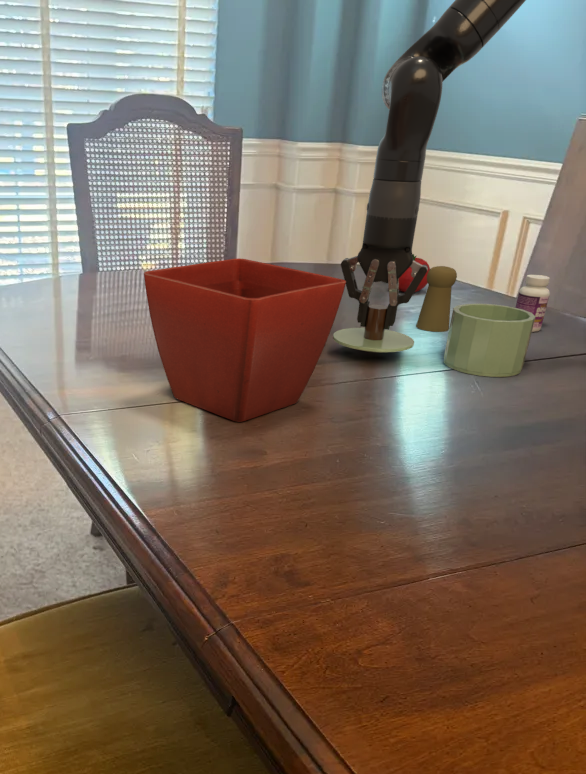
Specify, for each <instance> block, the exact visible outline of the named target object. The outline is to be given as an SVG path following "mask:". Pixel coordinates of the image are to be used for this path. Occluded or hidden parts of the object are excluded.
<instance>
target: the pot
mask: <svg viewBox="0 0 586 774" xmlns="http://www.w3.org/2000/svg"><path fill="white" fill-rule="evenodd" d="M534 321H535V316H534V315H533V314H532V313H531V312H528V311H526V310H523V309H519V308H515V307H513V306H510V305H509V306H508V305H503V304H494V303H464V304H459V305H456V306H455V307H453V308H452V313H451V317H450V322H449V330H448V332H447V333H448V334H447V339H446V342H445V343H446V344H445V349H444V354H443V364H444V365H445V366H446V367H448V368H450V369H452V370H454V371H457V372H460V373H463V374H468V375H473V376H480V377H489V378H508V377H513V376H517V375H519V374H520V373H522V370H523V367H524V364H525V362H526V357H527V353H528V349H529V344H530V341H531V337H532V333H533V332H532V329H533V325H534Z"/></svg>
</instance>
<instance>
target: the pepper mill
mask: <svg viewBox="0 0 586 774" xmlns="http://www.w3.org/2000/svg"><path fill="white" fill-rule="evenodd" d="M457 278H458V273H457V270H456V269H455V268H453V267H451V266H445V265H437V266H433V267H430V270H429V271H428V274H427V282H428V284H427V285H428V286H427V289H426V292H425V296H424V299H423V301H422V305H421V308H420V312H419V315H418V318H417V322H416V324H415V328H416V329H418V330H422V331H426V332H433V333H434V332H435V333H443V332H444V333H445V332H449V328H450V322H451V302H452V301H451V300H452V287H453V286H454V285H455V283H456V281H457Z"/></svg>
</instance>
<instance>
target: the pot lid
mask: <svg viewBox="0 0 586 774" xmlns="http://www.w3.org/2000/svg"><path fill="white" fill-rule="evenodd" d="M387 307H388V305H384V304H369V306H368V310H367V317H366V324H365V327H350V328H349V327H348V328H343V329H338V330H337V331H335V332H334V333H333V334H332V340H333V341H334V342H335V343H337V344H339V345H340V346H343V347H346V348H349V349H354V350H357V351H362V352H368V353H396V352H397V353H399V352H404V351H408V350H411V349H412V348H413V347H414V346H415V340H414V339H413V337H411V336H410V335H407V334H405V333H401V332H399V331H394V330H390V329H389V330H388V329H384V326H385V320H386V314H387Z"/></svg>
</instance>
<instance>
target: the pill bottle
mask: <svg viewBox="0 0 586 774" xmlns="http://www.w3.org/2000/svg"><path fill="white" fill-rule="evenodd" d="M550 280H551V278H550V277H549V276H547V275H541V274H527V275H526V278H525V285H523V286H521V288H520V289H519V291H518V294H517V298H516V303H515V307H514V308H519V309H523V310H526V311H528V312H531V313H532V314H533V315H534V316H535V321H534V325H533V329H532V333H536V332H537V333H538V332H539V331H541V329H542V326H543V323H544V318H545V315H546V311H547V307H548V303H549V300H550V295H551V292H550V290H549V288H547V287H549V284H550Z"/></svg>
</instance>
